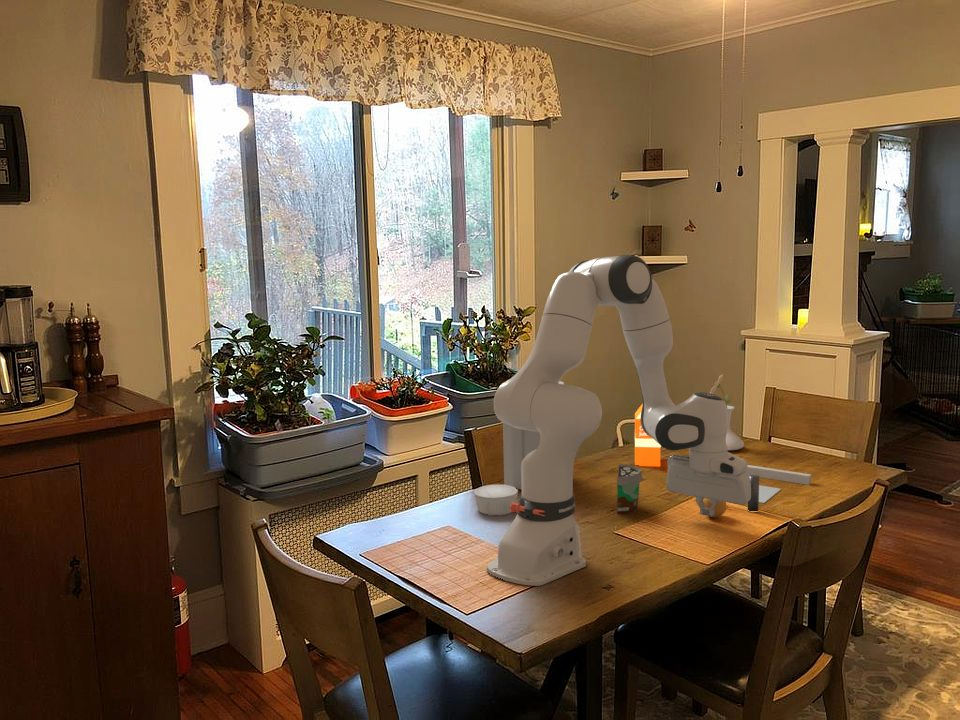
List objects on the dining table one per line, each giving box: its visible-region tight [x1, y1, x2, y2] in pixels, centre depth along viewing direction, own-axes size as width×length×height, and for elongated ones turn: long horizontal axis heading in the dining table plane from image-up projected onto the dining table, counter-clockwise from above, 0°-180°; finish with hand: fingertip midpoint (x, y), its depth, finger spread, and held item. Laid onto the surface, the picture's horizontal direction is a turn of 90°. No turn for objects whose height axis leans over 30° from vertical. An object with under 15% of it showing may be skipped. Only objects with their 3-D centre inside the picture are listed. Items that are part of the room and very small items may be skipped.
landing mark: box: [759, 484, 782, 504], centre depth 219 cm, size 14×14×1 cm
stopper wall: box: [745, 464, 812, 486], centre depth 231 cm, size 2×24×2 cm, turn 52°
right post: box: [747, 475, 760, 512], centre depth 203 cm, size 3×3×9 cm
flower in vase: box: [709, 373, 745, 451], centre depth 260 cm, size 13×11×25 cm
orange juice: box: [634, 402, 662, 467], centre depth 248 cm, size 8×9×20 cm
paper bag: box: [502, 380, 565, 490], centre depth 227 cm, size 19×15×28 cm
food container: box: [616, 463, 643, 515], centre depth 207 cm, size 12×6×10 cm, turn 168°
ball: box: [703, 498, 727, 518], centre depth 200 cm, size 6×6×6 cm
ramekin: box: [473, 484, 519, 516], centre depth 209 cm, size 11×11×5 cm
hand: (707, 514), depth 196 cm, fingers closed
